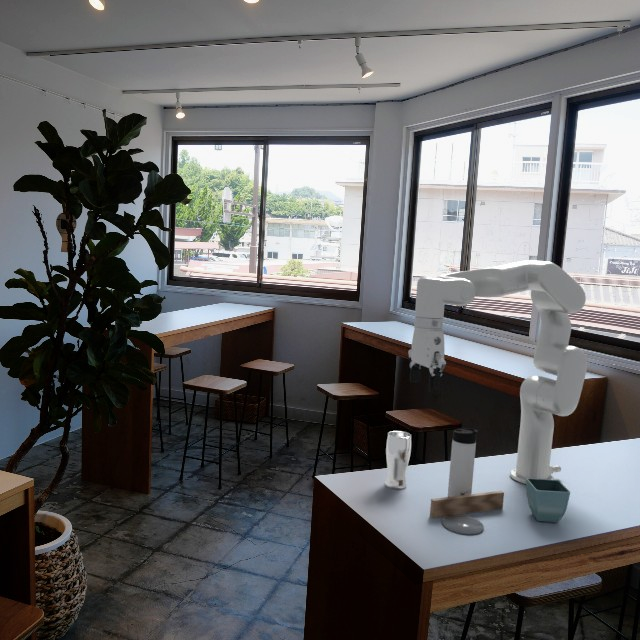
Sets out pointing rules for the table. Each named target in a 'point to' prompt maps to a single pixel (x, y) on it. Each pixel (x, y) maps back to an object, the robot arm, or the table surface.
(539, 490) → the flower pot
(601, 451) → the table surface
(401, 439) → the beer glass
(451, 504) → the rail
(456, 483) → the travel mug
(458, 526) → the grey flat disc
